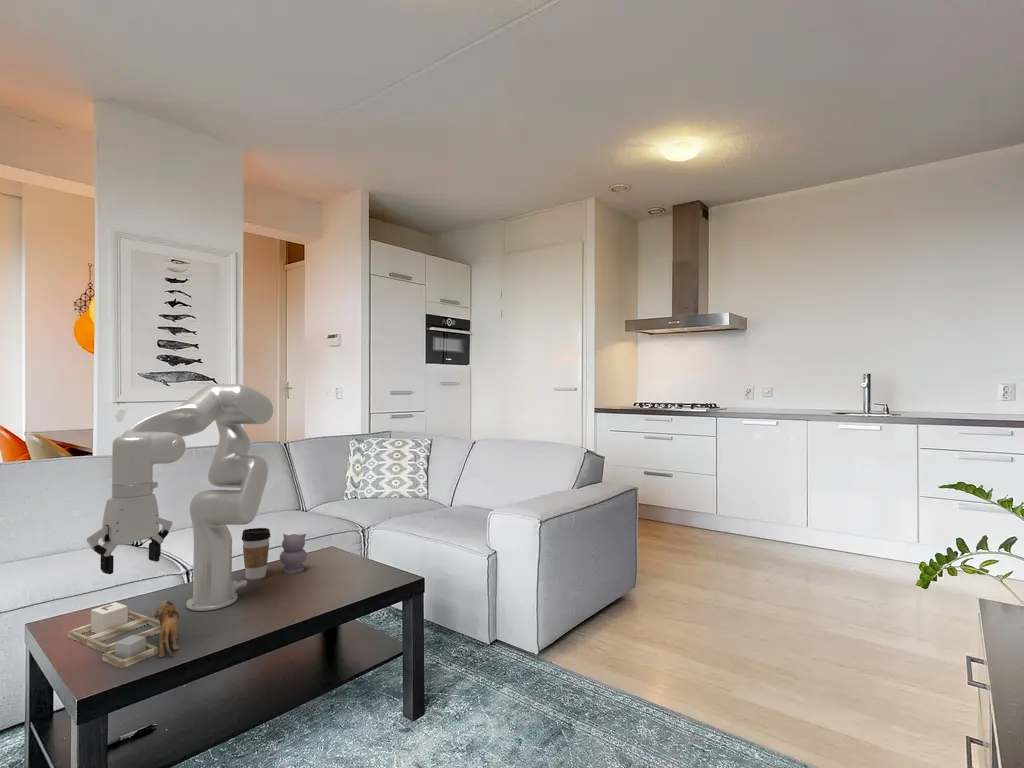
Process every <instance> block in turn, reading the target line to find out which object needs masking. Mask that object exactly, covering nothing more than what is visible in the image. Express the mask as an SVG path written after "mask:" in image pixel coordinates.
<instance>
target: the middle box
mask: <svg viewBox="0 0 1024 768" xmlns="http://www.w3.org/2000/svg"><path fill="white" fill-rule="evenodd" d="M148 617H149V618H146V619H143V620H140V621H137V622H134V623H132V624H129V625H126V626H123V627H120V628H117V629H114V630H112V631H109V632H106V633H103V634H100V635H97V636H95V637H92V638H89V639H87V642H86V645H85V646H87V647H89V646H90V648H92V649H94V650H96V649H97V650H96V651H99V652H101V653H103V652H104V653H107V652H109V651H112V650H115V643H116V642H117V641H115V642H112V643H109V644H105V643H103V641H105V640H109V639H112V638H114V637H118V636H120V635H123V634H125V633H128V632H131V631H134V630H136V628H137V629H139V627H140V628H142V627H145V626H147V624H149V625H148V626H150V625H151V627H152V628H150V629H147V630H145V631H142V632H140V633H137V634H135V635H136V636H144V637H146V639H147V637H148V638H150V637H152V636H156V635H157V634H158V635H159V634H160V630H161V625H160V621H159V619H155V618H152V617H150V616H148ZM144 625H145V626H144ZM141 626H142V627H141ZM155 634H156V635H155ZM104 653H103V654H104Z"/></svg>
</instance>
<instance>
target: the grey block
mask: <svg viewBox="0 0 1024 768" xmlns="http://www.w3.org/2000/svg"><path fill="white" fill-rule="evenodd" d="M115 642H116V643H115ZM115 642H114V643H115V656H116V657H118V658H120V659H123V660H124V659H127V658H129V657H132V656H134V655H137V654H139V653H142V652H144V651H146V643H147V638H146V637H144V636H136V634H131V635H129V636H127V637H125V638H122V639H120V640H118V641H115Z"/></svg>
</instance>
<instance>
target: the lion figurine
mask: <svg viewBox="0 0 1024 768" xmlns="http://www.w3.org/2000/svg"><path fill="white" fill-rule="evenodd" d="M177 609H178V608H177V607H176V606H175V604H174V603H173V602H172V601H170V600H162V601H160V602H159V606H157V607H156V608H155V609H154V610H152V611H151V615H152V616H153V617H154V619H155V620H157V619H158V621H160V625H161V630H160V633H159V634H158V636H159V638H158V639H159V641H158V644H159V647H158V651H159V653H158V658H162V657H165V650H164V649H166V650H167V653H168V654H169V656H170V657H174V655H175V654H174V653H173V651H172V650H171V648H170V645H169V637H170V639H171V642H172V644H171V645H172V648H173V650H175V651H176V650H179V649H180V646H179V645H178V643H177V638H178V639H179V636H177V635H178V628H179V625H178V623H179V618H180V613H179V610H177ZM164 643H165V647H166V648H165V647H164Z"/></svg>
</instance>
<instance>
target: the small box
mask: <svg viewBox="0 0 1024 768" xmlns="http://www.w3.org/2000/svg"><path fill="white" fill-rule="evenodd" d="M156 655H159V647H158V646H155V645H153V644H150V643H148V642H146V651H144V652H142V653H139V654H137V655H134V656H132V657H129V658H127V659H124V660H123V659H120V658H118V657H116V656H115V650H112V651H109V652H107V653H102V661H103V662H105V663H108V664H109V665H112V666H114V667H116V668H118V669H121V670H123V669H126V668H127V667H129V666H132V665H134V664H137V663H139V662H141V661H144V660H146V658H147V659H149V658H152V657H154V656H156Z"/></svg>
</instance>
